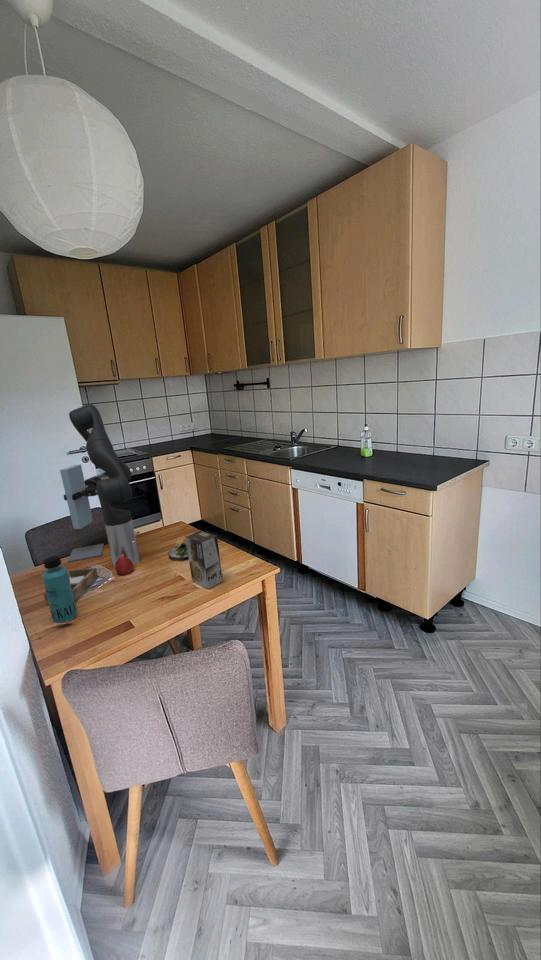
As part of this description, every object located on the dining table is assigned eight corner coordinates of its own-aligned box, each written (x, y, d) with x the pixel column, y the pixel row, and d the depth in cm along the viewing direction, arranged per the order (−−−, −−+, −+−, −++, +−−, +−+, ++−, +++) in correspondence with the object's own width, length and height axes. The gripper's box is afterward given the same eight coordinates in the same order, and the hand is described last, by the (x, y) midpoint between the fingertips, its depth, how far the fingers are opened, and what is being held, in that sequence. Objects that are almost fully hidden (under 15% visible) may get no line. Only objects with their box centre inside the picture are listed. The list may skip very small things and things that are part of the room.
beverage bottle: (60, 616, 112) (44, 554, 107) (83, 613, 113) (68, 551, 108) (49, 630, 106) (32, 565, 101) (74, 627, 106) (58, 562, 101)
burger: (184, 564, 139) (181, 545, 137) (161, 558, 145) (158, 540, 144) (206, 550, 149) (203, 533, 147) (184, 545, 155) (181, 528, 153)
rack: (73, 582, 132) (70, 569, 130) (98, 581, 131) (96, 568, 130) (46, 609, 116) (42, 595, 115) (74, 608, 116) (71, 593, 115)
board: (86, 521, 158) (74, 464, 151) (93, 521, 157) (80, 464, 151) (73, 528, 150) (59, 469, 144) (80, 528, 150) (66, 469, 143)
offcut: (66, 585, 128) (64, 579, 127) (85, 580, 129) (84, 575, 129) (63, 592, 123) (62, 586, 122) (84, 587, 125) (82, 582, 124)
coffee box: (223, 581, 125) (218, 535, 120) (208, 589, 120) (201, 542, 116) (206, 573, 131) (200, 529, 127) (191, 581, 126) (184, 536, 122)
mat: (104, 544, 162) (103, 543, 162) (101, 556, 151) (101, 554, 151) (73, 550, 159) (72, 549, 159) (68, 562, 148) (67, 561, 148)
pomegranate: (118, 581, 130) (113, 560, 128) (116, 574, 135) (112, 553, 133) (135, 576, 132) (131, 555, 130) (133, 569, 137) (129, 549, 135)
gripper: (80, 476, 163) (50, 488, 146) (110, 475, 160) (82, 488, 143) (84, 493, 165) (55, 507, 148) (113, 493, 162) (86, 507, 145)
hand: (69, 497), depth 146 cm, fingers closed on board, 3 cm apart
